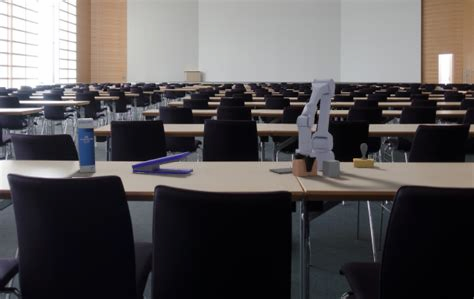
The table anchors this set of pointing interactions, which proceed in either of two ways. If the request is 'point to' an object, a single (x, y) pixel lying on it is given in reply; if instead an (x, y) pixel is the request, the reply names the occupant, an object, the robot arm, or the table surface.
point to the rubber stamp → (363, 159)
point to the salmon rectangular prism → (302, 168)
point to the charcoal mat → (281, 170)
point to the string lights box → (86, 145)
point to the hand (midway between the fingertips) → (304, 170)
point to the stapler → (154, 165)
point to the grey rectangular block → (331, 168)
